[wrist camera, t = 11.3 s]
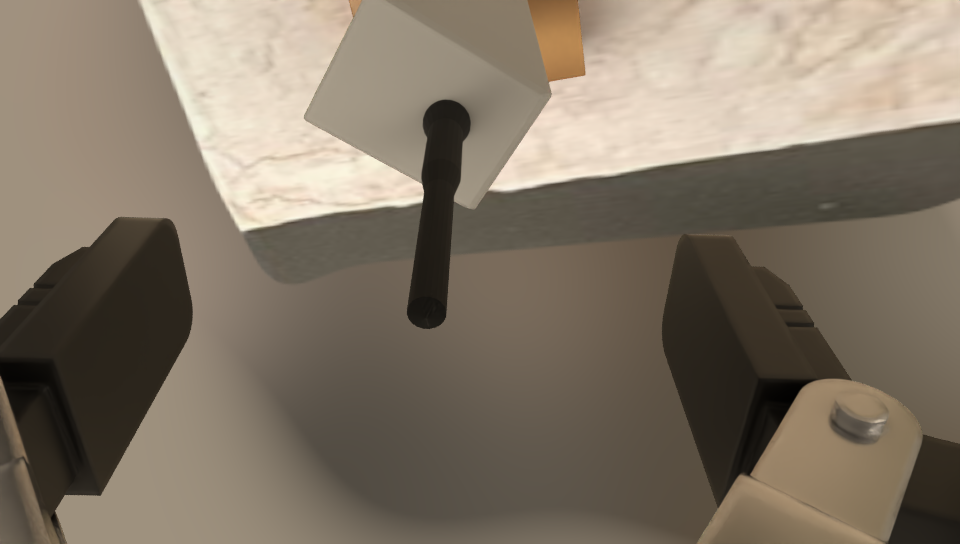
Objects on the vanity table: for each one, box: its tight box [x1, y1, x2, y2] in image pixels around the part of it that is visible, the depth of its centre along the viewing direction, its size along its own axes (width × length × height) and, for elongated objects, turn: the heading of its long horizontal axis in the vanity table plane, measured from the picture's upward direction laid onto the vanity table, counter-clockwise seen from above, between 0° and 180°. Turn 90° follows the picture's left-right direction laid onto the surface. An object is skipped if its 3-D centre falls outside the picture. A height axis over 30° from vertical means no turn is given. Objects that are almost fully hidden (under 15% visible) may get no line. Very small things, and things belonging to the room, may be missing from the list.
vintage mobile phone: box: [304, 0, 552, 329], centre depth 22 cm, size 4×5×25 cm
